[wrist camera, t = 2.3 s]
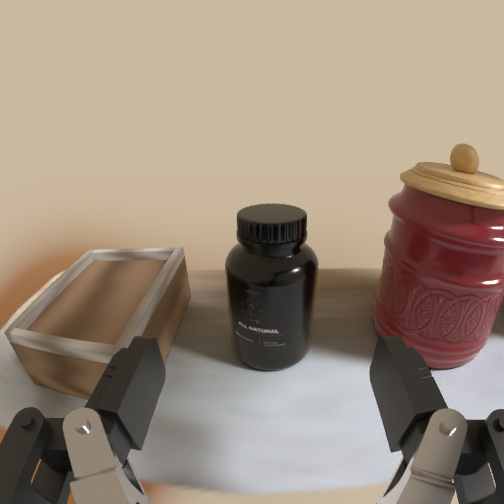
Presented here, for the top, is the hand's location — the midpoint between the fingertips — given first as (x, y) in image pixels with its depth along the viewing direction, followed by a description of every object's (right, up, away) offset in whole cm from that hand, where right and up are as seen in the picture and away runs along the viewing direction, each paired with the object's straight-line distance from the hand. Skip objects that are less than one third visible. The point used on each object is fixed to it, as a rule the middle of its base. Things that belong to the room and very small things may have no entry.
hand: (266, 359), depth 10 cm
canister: (+17, -4, +15) cm, 23 cm away
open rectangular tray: (-14, -5, +16) cm, 22 cm away
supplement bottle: (+1, -5, +15) cm, 16 cm away
